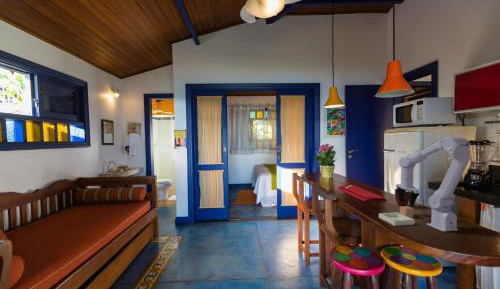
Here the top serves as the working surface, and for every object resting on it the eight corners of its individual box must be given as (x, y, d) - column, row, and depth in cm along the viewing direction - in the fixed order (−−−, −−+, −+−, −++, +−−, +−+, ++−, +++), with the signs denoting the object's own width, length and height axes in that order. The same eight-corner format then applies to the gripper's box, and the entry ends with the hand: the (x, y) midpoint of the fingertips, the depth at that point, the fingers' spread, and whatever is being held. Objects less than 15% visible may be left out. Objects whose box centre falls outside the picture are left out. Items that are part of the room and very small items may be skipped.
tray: (414, 224, 125) (414, 219, 125) (394, 225, 123) (394, 220, 123) (397, 216, 137) (397, 212, 137) (378, 218, 135) (378, 213, 135)
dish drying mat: (364, 202, 168) (364, 197, 168) (337, 189, 209) (337, 185, 208) (386, 201, 169) (386, 196, 169) (355, 188, 210) (355, 184, 210)
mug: (415, 209, 151) (415, 192, 150) (401, 209, 151) (401, 192, 150) (404, 204, 161) (405, 188, 161) (392, 204, 161) (392, 188, 161)
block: (413, 217, 136) (413, 208, 135) (405, 218, 135) (406, 208, 135) (407, 215, 140) (407, 206, 140) (399, 215, 139) (399, 206, 139)
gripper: (424, 180, 130) (424, 206, 131) (403, 176, 145) (403, 199, 145) (412, 181, 129) (411, 207, 130) (392, 176, 144) (392, 200, 144)
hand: (406, 203), depth 137 cm, fingers open, 7 cm apart
